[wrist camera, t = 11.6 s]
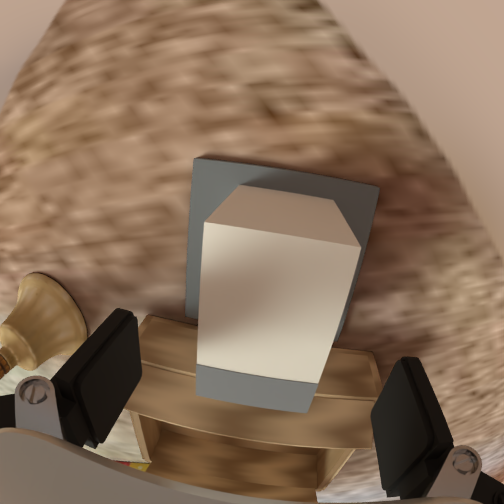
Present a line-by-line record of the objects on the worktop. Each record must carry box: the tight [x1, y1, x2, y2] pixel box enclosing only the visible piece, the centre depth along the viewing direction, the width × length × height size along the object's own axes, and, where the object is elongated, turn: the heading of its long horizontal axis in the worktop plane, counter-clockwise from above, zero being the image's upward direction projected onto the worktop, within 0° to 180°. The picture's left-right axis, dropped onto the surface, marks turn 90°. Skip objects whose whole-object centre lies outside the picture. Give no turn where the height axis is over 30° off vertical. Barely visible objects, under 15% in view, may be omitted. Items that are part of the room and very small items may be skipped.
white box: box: [196, 185, 361, 413], centre depth 14 cm, size 5×8×7 cm, turn 173°
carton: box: [124, 315, 383, 503], centre depth 20 cm, size 20×14×7 cm
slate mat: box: [185, 158, 380, 342], centre depth 18 cm, size 10×10×1 cm
